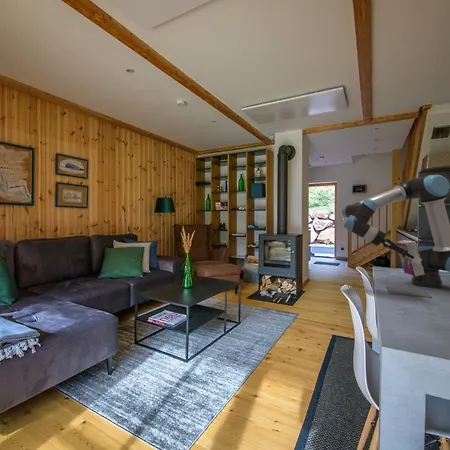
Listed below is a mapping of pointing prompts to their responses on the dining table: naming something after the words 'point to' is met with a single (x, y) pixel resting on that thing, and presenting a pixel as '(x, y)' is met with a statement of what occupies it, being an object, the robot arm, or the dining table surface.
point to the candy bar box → (408, 264)
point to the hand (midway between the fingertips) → (416, 259)
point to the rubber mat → (408, 292)
